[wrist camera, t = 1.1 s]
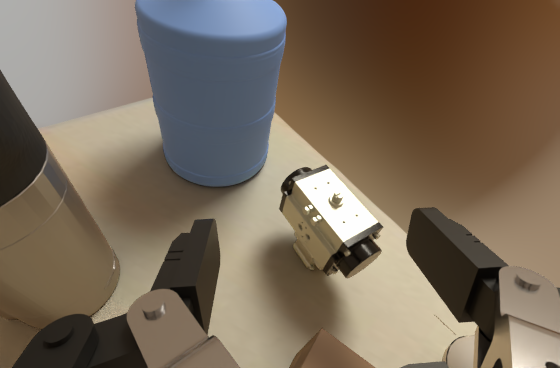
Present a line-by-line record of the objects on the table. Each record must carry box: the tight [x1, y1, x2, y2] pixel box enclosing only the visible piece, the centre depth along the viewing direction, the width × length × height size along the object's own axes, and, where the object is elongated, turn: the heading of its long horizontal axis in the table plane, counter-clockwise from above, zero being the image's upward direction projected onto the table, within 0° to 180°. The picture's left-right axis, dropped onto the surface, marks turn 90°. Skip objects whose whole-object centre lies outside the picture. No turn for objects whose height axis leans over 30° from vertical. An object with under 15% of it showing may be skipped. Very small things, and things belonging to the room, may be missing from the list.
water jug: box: [135, 0, 287, 187], centre depth 35 cm, size 16×16×28 cm
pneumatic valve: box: [279, 165, 383, 278], centre depth 31 cm, size 6×12×12 cm, turn 32°
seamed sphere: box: [435, 315, 475, 368], centre depth 27 cm, size 10×7×7 cm
